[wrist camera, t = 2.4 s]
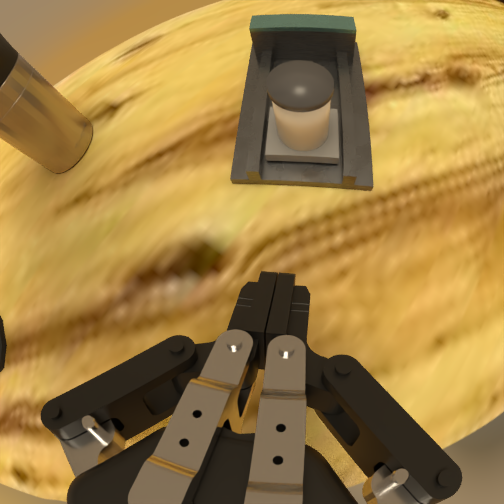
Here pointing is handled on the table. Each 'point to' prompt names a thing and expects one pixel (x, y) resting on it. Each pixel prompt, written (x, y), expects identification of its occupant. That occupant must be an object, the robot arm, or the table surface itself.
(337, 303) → the table surface
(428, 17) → the table surface
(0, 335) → the gun turret
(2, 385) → the table surface
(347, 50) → the knob mount
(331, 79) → the knob carriage
